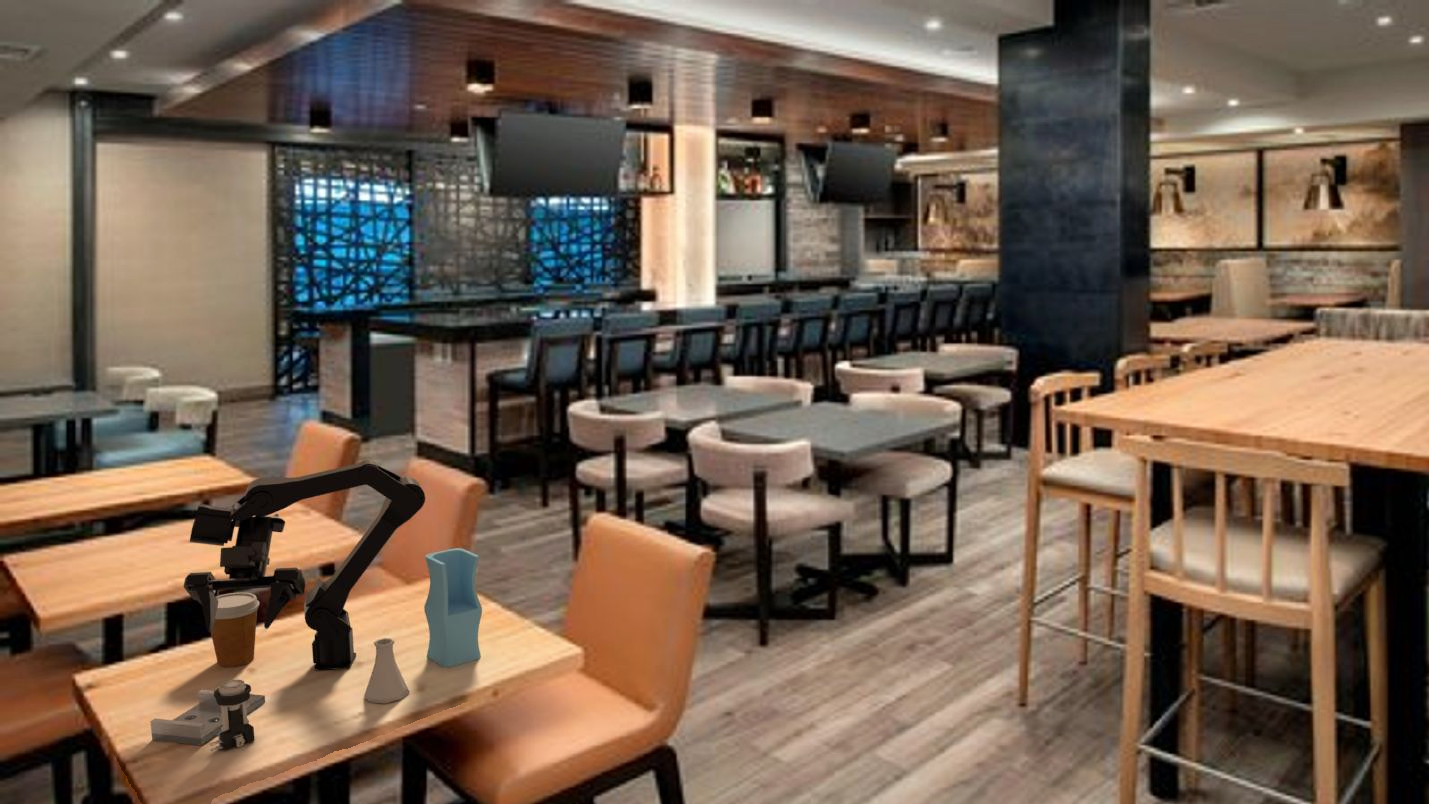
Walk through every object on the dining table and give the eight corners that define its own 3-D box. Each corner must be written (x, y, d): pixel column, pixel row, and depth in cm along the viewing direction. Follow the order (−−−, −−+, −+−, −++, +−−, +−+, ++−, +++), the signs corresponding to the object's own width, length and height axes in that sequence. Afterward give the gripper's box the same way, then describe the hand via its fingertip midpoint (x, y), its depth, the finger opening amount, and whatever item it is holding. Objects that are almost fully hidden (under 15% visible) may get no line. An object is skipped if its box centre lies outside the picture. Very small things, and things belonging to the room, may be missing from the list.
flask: (384, 708, 177) (381, 652, 175) (356, 698, 180) (353, 643, 179) (417, 693, 183) (414, 638, 181) (389, 684, 186) (386, 630, 185)
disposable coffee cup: (209, 655, 199) (204, 595, 198) (263, 648, 203) (259, 589, 201) (206, 674, 191) (201, 611, 189) (263, 666, 194) (258, 604, 193)
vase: (445, 668, 193) (441, 564, 190) (426, 656, 199) (421, 555, 196) (483, 657, 198) (479, 556, 195) (463, 645, 204) (459, 547, 201)
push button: (218, 759, 159) (213, 697, 158) (203, 748, 163) (198, 687, 161) (261, 743, 164) (256, 683, 163) (245, 733, 168) (241, 674, 166)
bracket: (219, 697, 181) (218, 680, 180) (265, 702, 179) (264, 684, 179) (152, 740, 165) (150, 721, 165) (201, 745, 164) (200, 726, 163)
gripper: (182, 528, 178) (162, 612, 169) (295, 522, 180) (282, 605, 171) (202, 558, 187) (185, 640, 178) (310, 553, 189) (299, 633, 180)
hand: (237, 629), depth 176 cm, fingers open, 9 cm apart
